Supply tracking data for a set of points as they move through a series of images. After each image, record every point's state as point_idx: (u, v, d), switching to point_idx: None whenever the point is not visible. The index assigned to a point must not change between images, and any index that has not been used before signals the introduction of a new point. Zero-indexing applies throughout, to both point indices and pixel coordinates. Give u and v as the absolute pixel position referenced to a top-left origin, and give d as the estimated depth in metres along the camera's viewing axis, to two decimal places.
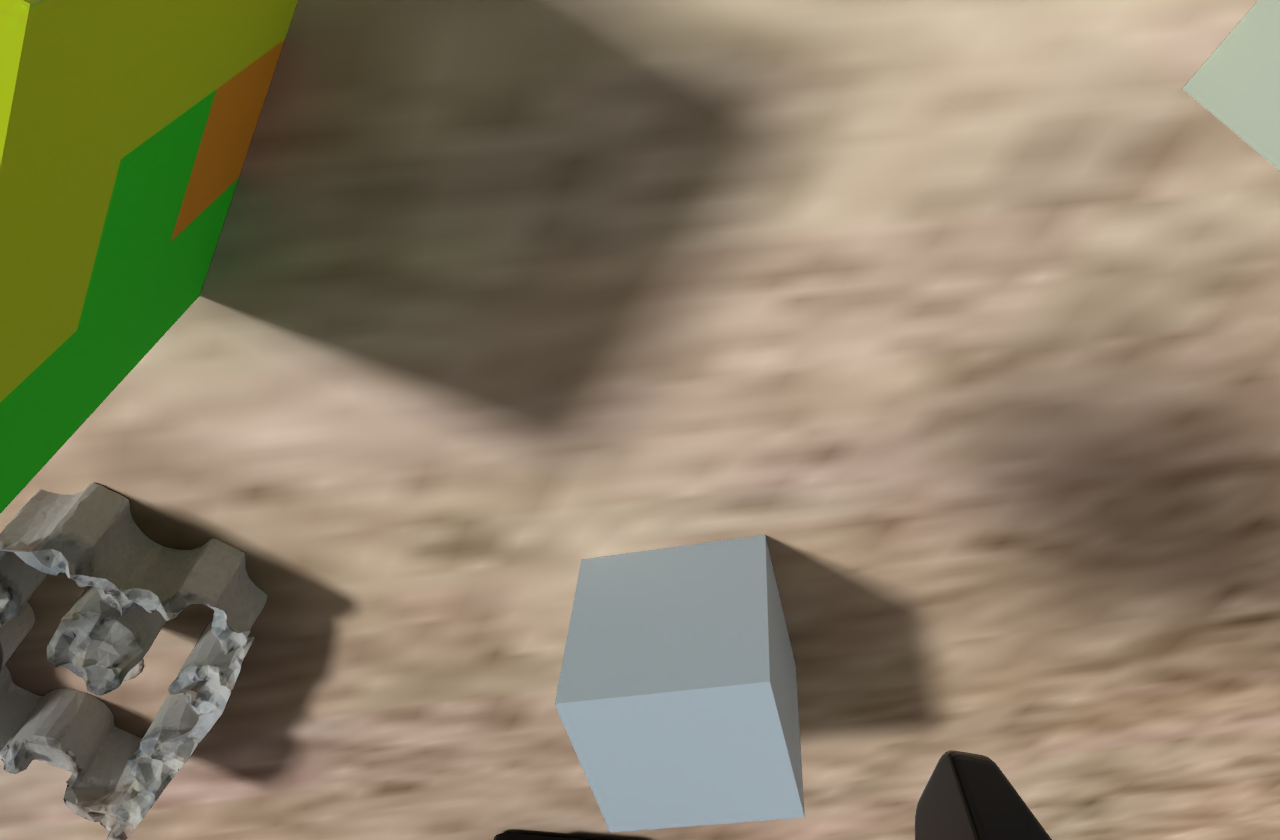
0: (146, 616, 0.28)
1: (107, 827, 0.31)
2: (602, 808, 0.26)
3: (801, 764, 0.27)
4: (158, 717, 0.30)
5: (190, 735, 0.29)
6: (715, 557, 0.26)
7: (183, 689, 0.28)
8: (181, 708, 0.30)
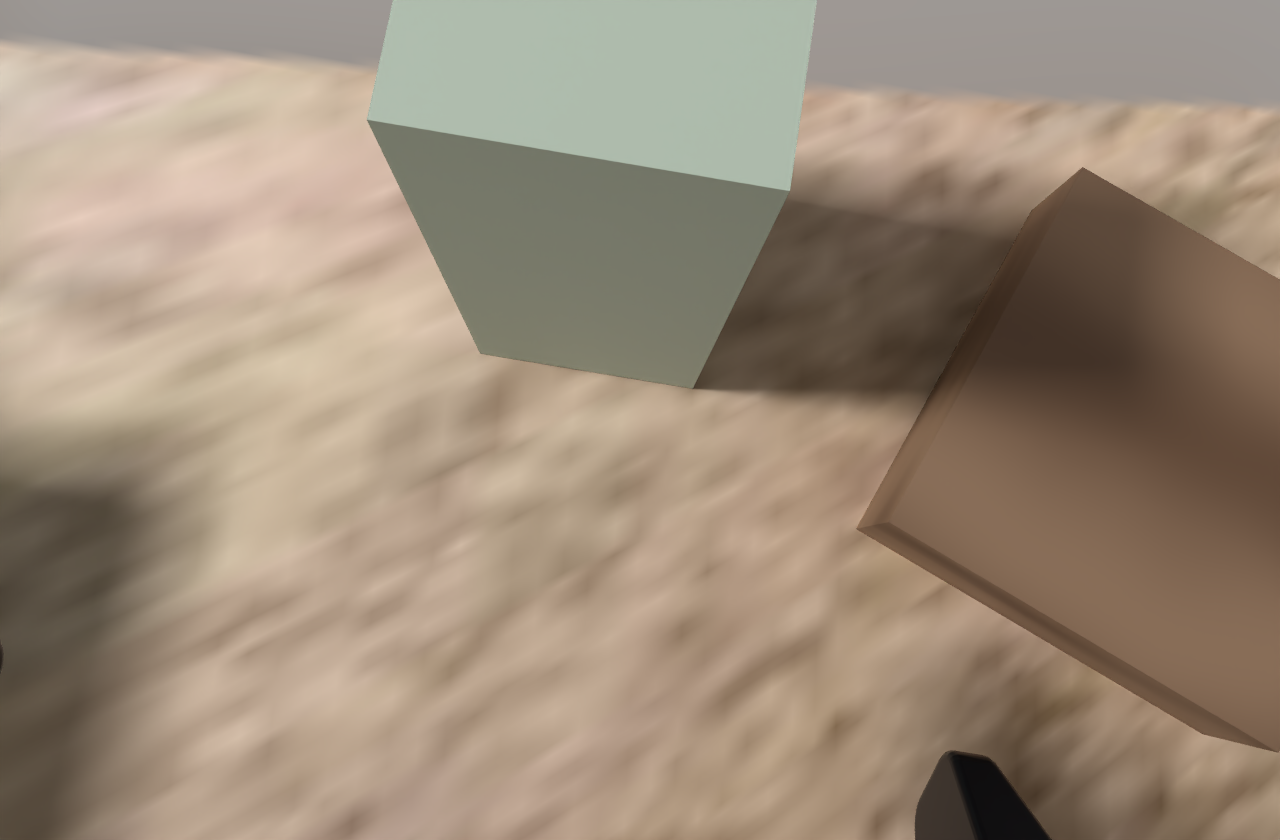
0: None
1: None
2: None
3: None
4: None
5: None
6: None
7: None
8: None
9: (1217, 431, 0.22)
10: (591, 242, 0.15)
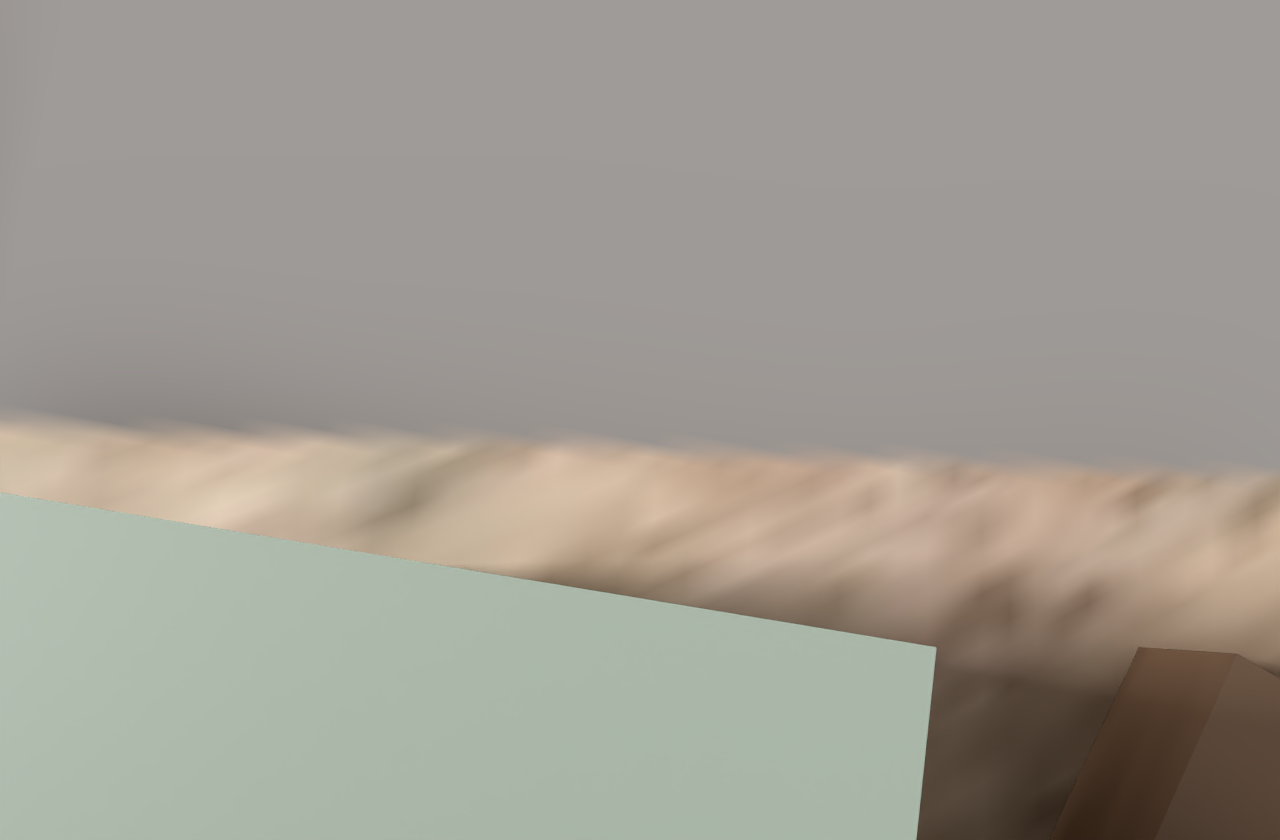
0: None
1: None
2: None
3: None
4: None
5: None
6: None
7: None
8: None
9: None
10: None
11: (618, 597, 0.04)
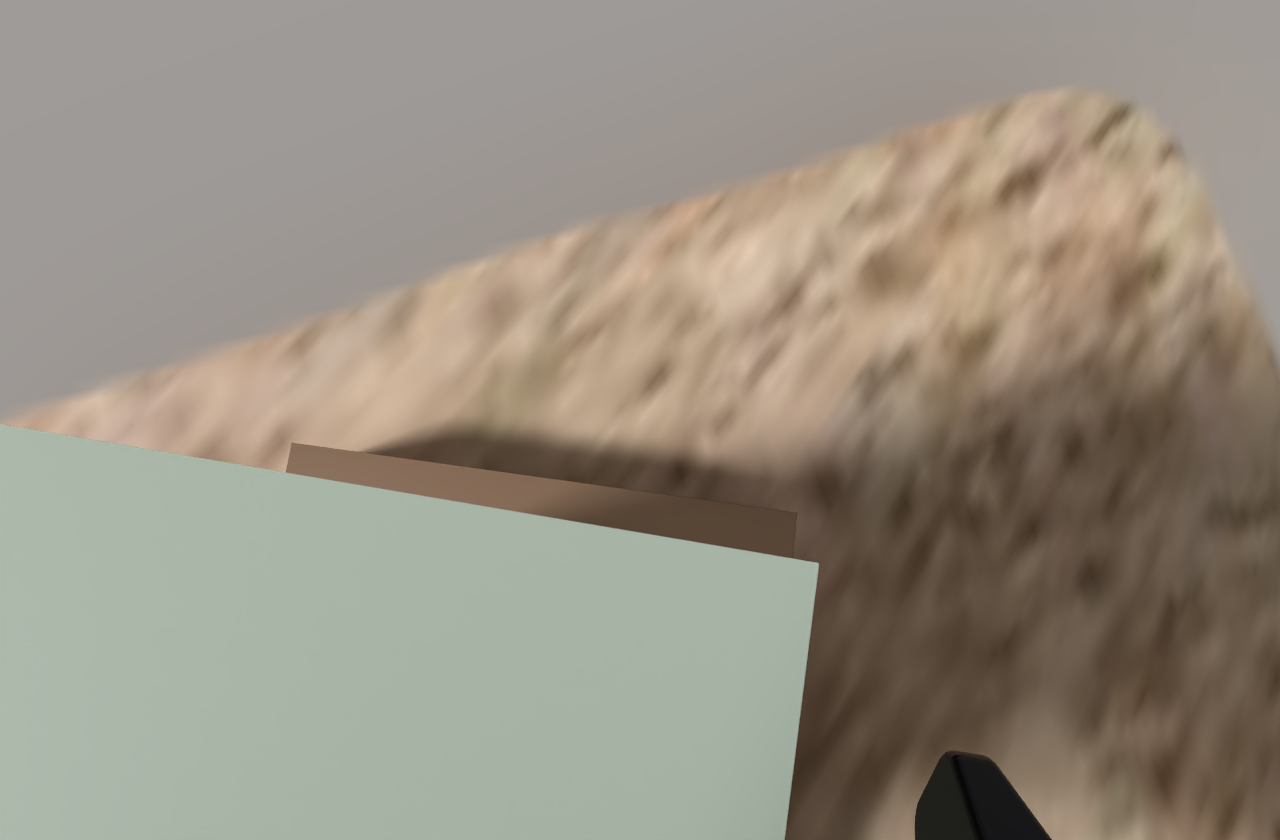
0: None
1: None
2: None
3: None
4: None
5: None
6: None
7: None
8: None
9: None
10: None
11: (577, 523, 0.06)
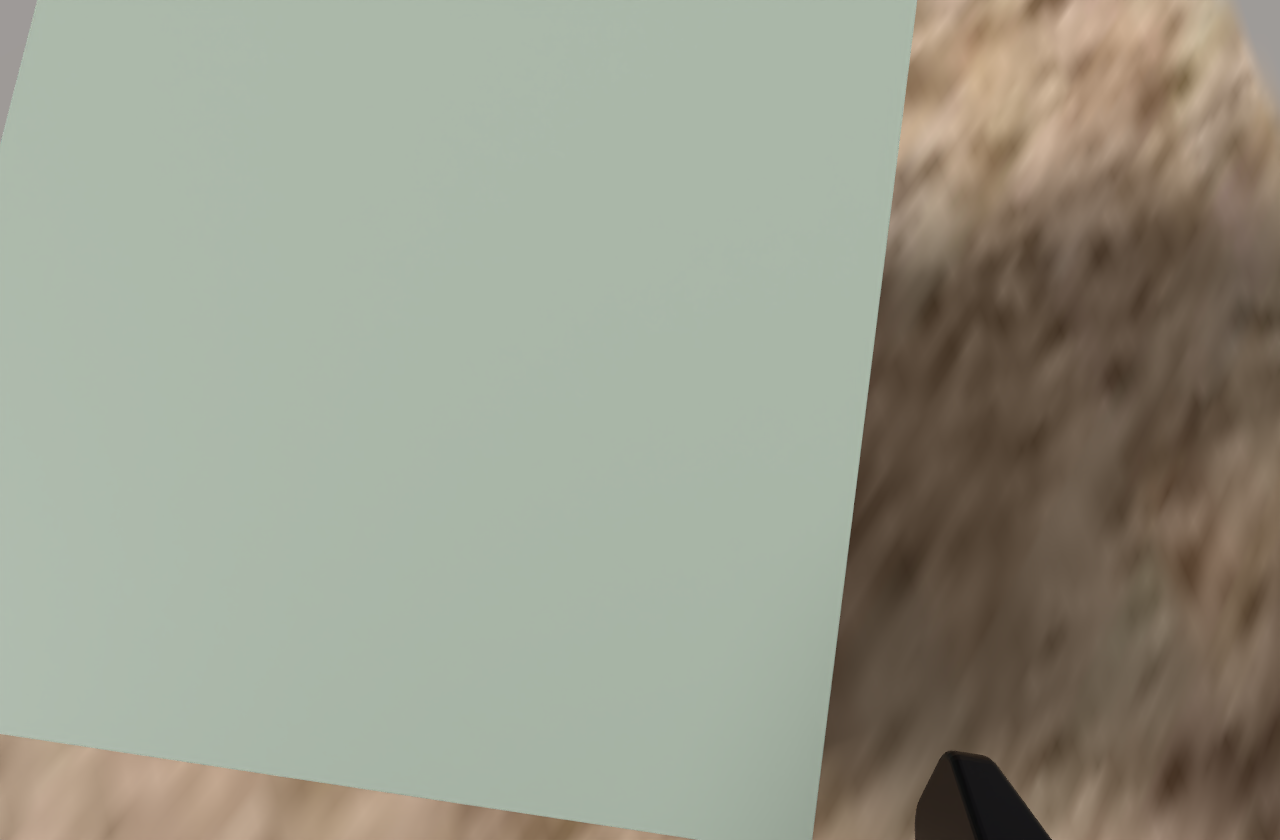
0: None
1: None
2: None
3: None
4: None
5: None
6: None
7: None
8: None
9: None
10: None
11: None
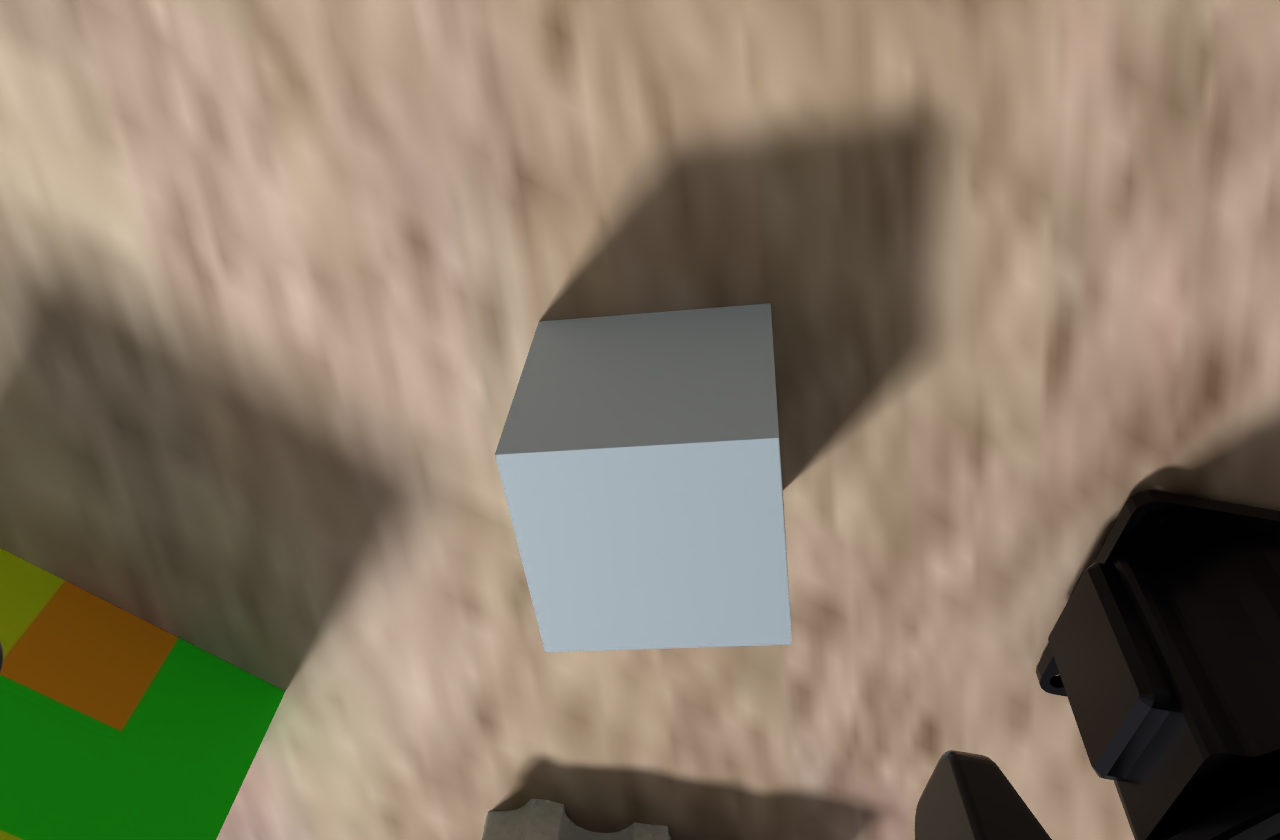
0: None
1: None
2: (741, 643, 0.20)
3: (773, 390, 0.19)
4: None
5: None
6: None
7: None
8: None
9: None
10: None
11: None
